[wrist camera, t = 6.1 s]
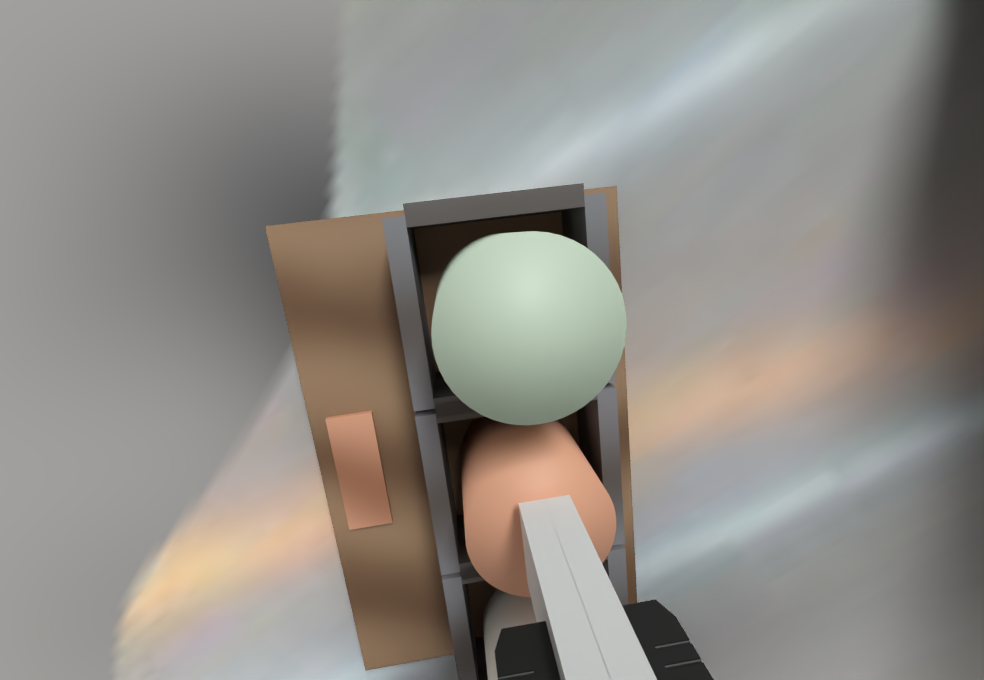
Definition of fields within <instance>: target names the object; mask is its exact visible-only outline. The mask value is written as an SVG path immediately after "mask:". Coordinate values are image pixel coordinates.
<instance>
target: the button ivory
mask: <svg viewBox="0 0 984 680" xmlns="http://www.w3.org/2000/svg"><path fill="white" fill-rule="evenodd" d="M531 623H537V622H536V617H535V613H534V609H533V604H532V600H531V598H529V597H520V596H516V595H511V594H508V593H506V592H503V591H501V590H499V589H497V590H496V591H495V592H494V593H493V594H492V596H491V597H490V599H489V600H488V602H487V604H486V607H485V610H484V614H483V634H484V644H485V655H486V665H487V676H488V680H498V677H497V669H496V660H495V648H496V645H497V642H498V638H499V635H500V632H501V629H503V628H509V627H514V626H520V625H525V624H531Z"/></svg>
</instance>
